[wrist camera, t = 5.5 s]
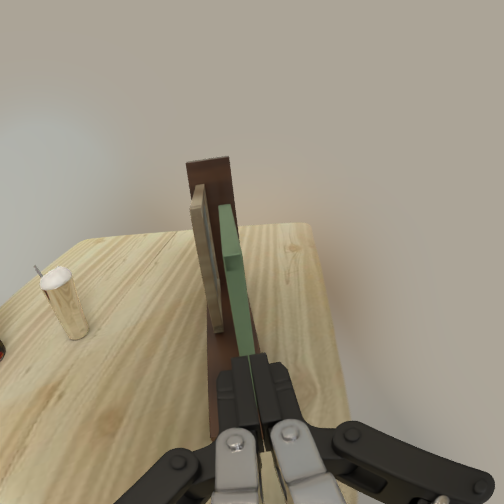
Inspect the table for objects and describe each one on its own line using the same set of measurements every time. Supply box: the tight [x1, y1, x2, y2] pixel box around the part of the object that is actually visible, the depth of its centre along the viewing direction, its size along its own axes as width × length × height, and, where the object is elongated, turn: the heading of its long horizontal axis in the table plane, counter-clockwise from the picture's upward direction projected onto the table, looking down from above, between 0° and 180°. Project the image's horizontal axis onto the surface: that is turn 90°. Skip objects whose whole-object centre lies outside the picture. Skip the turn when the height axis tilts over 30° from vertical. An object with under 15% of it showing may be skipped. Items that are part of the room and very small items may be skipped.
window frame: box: [186, 156, 264, 442], centre depth 27 cm, size 24×5×17 cm, turn 7°
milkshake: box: [34, 265, 89, 340], centre depth 31 cm, size 4×5×10 cm
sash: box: [218, 204, 258, 408], centre depth 23 cm, size 10×1×13 cm, turn 7°
